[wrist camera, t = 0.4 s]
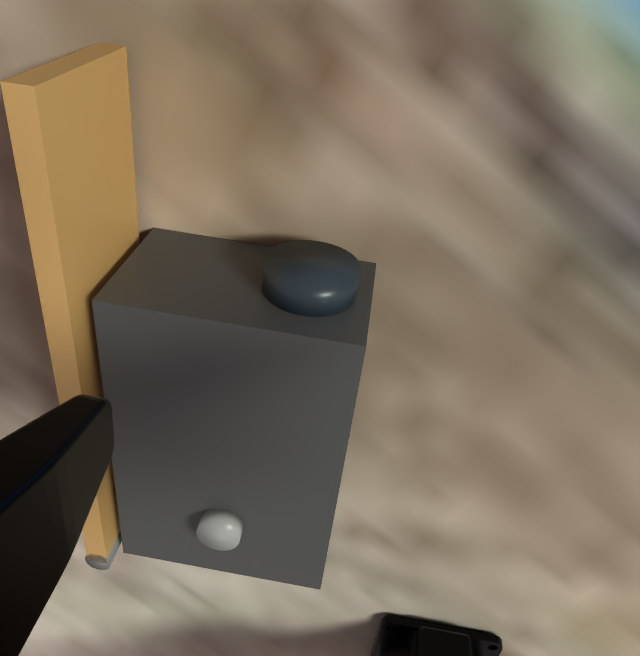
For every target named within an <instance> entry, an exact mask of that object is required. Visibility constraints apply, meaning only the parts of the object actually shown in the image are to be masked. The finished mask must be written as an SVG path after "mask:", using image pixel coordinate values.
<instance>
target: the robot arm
mask: <svg viewBox="0 0 640 656" xmlns="http://www.w3.org/2000/svg"><path fill="white" fill-rule="evenodd" d="M113 450H114V429H113V416H112V406H111V403H110V401H109V400H107V399H105V398H101V397H96V396H91V395H86V394H80V395H77V396H75V397H73V398H71V399H69V400H68V401H66V402H64V403H62V404H61V405H59V406H57V407H56V408H54V409H52V410H50V411H49V412H47V413H45V414H44V415H42V416H40V417H39V418H37V419H35V420H33V421H32V422H30V423H28V424H27V425H25V426H23V427H21V428H20V429H18V430H16V431H15V432H13V433H11V434H9V435H8V436H6V437H4V438H3V439H1V440H0V656H18V655H19V653H20V652H21V650H22V648H23V646H24V644H25V642H26V640H27V639H28V637H29V635H30V633H31V631H32V629H33V627H34V626H35V624H36V622H37V620H38V618H39V616H40V615H41V613H42V611H43V609H44V607H45V605H46V603H47V602H48V600H49V598H50V596H51V594H52V592H53V590H54V589H55V587H56V585H57V583H58V581H59V579H60V577H61V576H62V574H63V572H64V570H65V568H66V566H67V564H68V562H69V560H70V558H71V555H72V553H73V551H74V548H75V546H76V544H77V541H78V539H79V537H80V534H81V532H82V529H83V527H84V524H85V522H86V519H87V517H88V514H89V512H90V509H91V507H92V504H93V502H94V499H95V497H96V495H97V492H98V490H99V487H100V485H101V482H102V480H103V477H104V475H105V472H106V470H107V467H108V465H109V462H110V460H111V457H112V454H113ZM501 651H502V640H501V638H500V637H498V636H495V635H490V634H485V633H480V632H474V631H469V630H464V629H458V628H453V627H448V626H443V625H437V624H432V623H427V622H421V621H416V620H411V619H406V618H400V617H395V616H385V617H383V618H382V620H381V623H380V626H379V630H378V633H377V636H376V639H375V643H374V646H373V649H372V653H371V656H499V654H500V653H501Z"/></svg>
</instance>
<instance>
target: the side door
mask: <svg viewBox="0 0 640 656" xmlns="http://www.w3.org/2000/svg"><path fill="white" fill-rule="evenodd" d="M0 83H1V89H2V94H3V100H4V105H5V110H6V116H7V121H8V127H9V132H10V138H11V143H12V149H13V154H14V160H15V165H16V171H17V176H18V181H19V187H20V192H21V198H22V203H23V209H24V214H25V220H26V225H27V231H28V236H29V242H30V247H31V252H32V258H33V263H34V269H35V274H36V280H37V285H38V291H39V296H40V302H41V307H42V313H43V318H44V324H45V329H46V334H47V340H48V345H49V351H50V356H51V362H52V367H53V373H54V378H55V384H56V389H57V395H58V400H59V405H61V404H62V403H64V402H66V401H68V400H69V399H71V398H73V397H75V396H77V395H80V394H86V395H91V396H96V397H101V398H104V394H103V386H102V378H101V370H100V362H99V354H98V346H97V338H96V331H95V323H94V315H93V307H92V300H93V298H94V297H95V296H96V295H97V294H98V293H99V291H100V290H101V289H102V288H103V287H104V286H105V284H106V283H107V282H108V281H109V280H110V279H111V277H112V276H113V275H114V274H115V273H116V271H117V270H118V269H119V268H120V267H121V266H122V264H123V263H124V262H125V261H126V260H127V259H128V257H129V256H130V255H131V254H132V253H133V252H134V250H135V249H136V248H137V247H138V246H139V245H140V244H139V229H138V215H137V200H136V185H135V171H134V156H133V141H132V127H131V112H130V98H129V83H128V68H127V54H126V46H120V45H113V44H107V43H97V44H95V45H92V46H89V47H87V48H84V49H82V50H79V51H77V52H74V53H72V54H69V55H66V56H64V57H61V58H59V59H56V60H54V61H51V62H49V63H46V64H43V65H41V66H38V67H36V68H33V69H31V70H28V71H25V72H23V73H20V74H18V75H15V76H13V77H10V78H8V79H5V80H2V81H0ZM82 531H83V537H84V542H85V547H86V553H87V555H86V557H85V560H86V562H87V563H88V564H89V565H90V566H91V567H93V568H96V569H99V570H105V569H108V568H109V567H110V565H111V563H112V561H113V558H114V556H115V554H116V552H117V550H118V548H119V546H120V544H121V542H122V537H121V529H120V521H119V513H118V505H117V497H116V489H115V481H114V474H113V466H112V458H111V460H110V462H109V465H108V467H107V470H106V472H105V475H104V477H103V480H102V482H101V485H100V487H99V490H98V492H97V495H96V497H95V499H94V502H93V504H92V507H91V509H90V512H89V514H88V517H87V519H86V522H85V524H84V527H83V529H82Z"/></svg>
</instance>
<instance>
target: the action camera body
mask: <svg viewBox="0 0 640 656" xmlns="http://www.w3.org/2000/svg"><path fill="white" fill-rule="evenodd" d="M375 269H376V263H370V262H363V261H358V260H357V259H356V258H355V257H354V256H353V255H352V254H351V253H350V252H348V251H346V250H344V249H342V248H340V247H338V246H335V245H332V244H329V243H325V242H319V241H311V240H296V241H288V242H284V243H280V244H278V245H275V246H274V247H270V246H264V245H258V244H251V243H245V242H239V241H233V240H226V239H220V238H214V237H208V236H201V235H195V234H189V233H183V232H177V231H170V230H164V229H158V228H153V229H152V231H151V232H150V233H149V234H148V235H147V236H146V238H145V239H144V240H143V241H142V242H141V243H140V245H139V246H138V247H137V248H136V249H135V250H134V252H133V253H132V254H131V255H130V256H129V257H128V259H127V260H126V261H125V262H124V263H123V264H122V266H121V267H120V268H119V269H118V270H117V271H116V273H115V274H114V275H113V276H112V277H111V279H110V280H109V281H108V282H107V283H106V284H105V286H104V287H103V288H102V289H101V290H100V291H99V293H98V294H97V295H96V296H95V297H94V298H93V300H92V307H93V315H94V323H95V331H96V338H97V346H98V354H99V362H100V370H101V378H102V386H103V394H104V398H105V399H107V400H109V401H110V403H111V406H112V416H113V429H114V450H113V454H112V457H111V458H112V466H113V474H114V481H115V489H116V497H117V505H118V513H119V521H120V529H121V537H122V545H123V553H129V554H134V555H139V556H145V557H150V558H155V559H161V560H166V561H171V562H176V563H182V564H187V565H192V566H198V567H203V568H208V569H214V570H219V571H224V572H230V573H235V574H240V575H246V576H251V577H256V578H262V579H267V580H272V581H278V582H283V583H288V584H294V585H299V586H304V587H310V588H315V589H320V588H321V582H322V577H323V572H324V566H325V561H326V556H327V551H328V545H329V540H330V535H331V529H332V524H333V519H334V513H335V508H336V503H337V498H338V492H339V487H340V482H341V476H342V471H343V466H344V460H345V455H346V450H347V445H348V439H349V434H350V429H351V423H352V418H353V413H354V407H355V402H356V397H357V392H358V386H359V381H360V376H361V370H362V365H363V360H364V354H365V349H366V342H367V334H368V326H369V318H370V310H371V302H372V293H373V285H374V277H375Z"/></svg>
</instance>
